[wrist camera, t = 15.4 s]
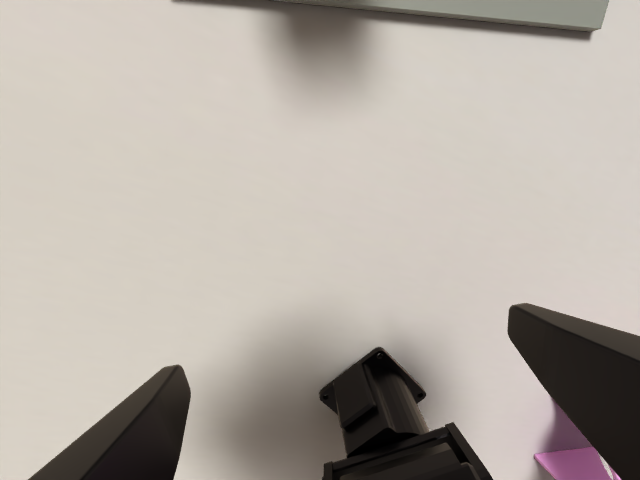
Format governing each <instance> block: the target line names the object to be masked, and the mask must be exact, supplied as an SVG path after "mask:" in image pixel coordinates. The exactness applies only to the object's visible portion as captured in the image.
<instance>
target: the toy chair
mask: <svg viewBox="0 0 640 480" xmlns="http://www.w3.org/2000/svg"><path fill="white" fill-rule="evenodd" d="M534 458H535V459H536V460H537V461H538V462H539V463H540V464H541V465H542V466H543V467H544V468H545V469H546V470H547V471H548V472H549V473H550V474H551V475H552V476H553V477H554V479H555V480H612V479H611V478H610V476H609V475H608V473H607V471H606V470H605V468H604V466H603V464H602V462H601V460H600V457H599V455H598V453H597V450H596V449H595V448H594V447H587V448H579V449H571V450H563V451H555V452H547V453H539V454H534ZM608 465H609V464H608ZM609 468H610V470H611V472H612V475H613V480H621V479H620V477H619V476H618V475H617V474H616V473H615V472H614V470H613V469H612V468H611V467H610V466H609Z"/></svg>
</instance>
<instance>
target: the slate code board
mask: <svg viewBox="0 0 640 480" xmlns="http://www.w3.org/2000/svg"><path fill="white" fill-rule="evenodd" d="M272 1H282V2H293V3H303V4H313V5H323V6H333V7H344V8H354V9H364V10H374V11H385V12H395V13H405V14H415V15H425V16H436V17H446V18H456V19H466V20H476V21H487V22H497V23H507V24H517V25H527V26H538V27H548V28H558V29H568V30H579V31H589V32H592V31H595V30H598V29H601V27H602V23H603V20H604V16H605V13H606V9H607V6H608V2H609V0H272Z"/></svg>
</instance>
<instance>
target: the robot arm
mask: <svg viewBox="0 0 640 480" xmlns="http://www.w3.org/2000/svg"><path fill="white" fill-rule="evenodd" d="M508 335H509V338H510V340H511V341H512V343H513V344H514V346H515V347H516V348H517V350H518V351H519V353H520V354H521V356H522V357H523V358H524V360H525V361H526V363H527V364H528V366H529V367H530V368H531V370H532V371H533V373H534V374H535V376H536V377H537V378H538V380H539V381H540V383H541V384H542V385H543V387H544V388H545V389H546V391H547V392H548V393H549V394H550V396H551V397H552V398H553V399H554V400H555V402H556V403H557V404H558V405H559V406H560V408H561V409H562V410H563V411H564V412H565V413H566V415H567V416H568V417H569V418H570V419H571V421H572V422H573V423H574V424H575V425H576V427H577V428H578V429H579V430H580V431H581V432H582V434H583V435H584V436H585V437H586V438H587V440H588V441H589V442H590V443H591V444H592V445H593V447H594V448H595V449H596V450H597V451H598V453H599V454H600V455H601V456H602V457H603V459H604V460H605V461H606V462H607V463H608V464H609V466H610V467H611V468H612V469H613V470H614V472H615V473H616V474H617V475H618V476H619V477H620V479H621V480H640V336H637V335H634V334H630V333H627V332H624V331H620V330H617V329H613V328H610V327H607V326H603V325H600V324H596V323H593V322H590V321H586V320H583V319H579V318H576V317H573V316H569V315H566V314H562V313H559V312H556V311H552V310H549V309H545V308H542V307H539V306H535V305H532V304H528V303H522V304H517V305H512V306H511V307H510V309H509V317H508ZM379 353H382V354H381V355H378V354H379ZM419 393H420V394H419ZM324 395H326V396H324ZM319 396H320V400H321V401H322V402H323V403H325V404H326V405H327V406H328V407H329V408H331V409H332V410H333V411H334V412H335V413H337V414H338V416H339V422H340V427H341V428H342V432H343V438H344V444H345V449H346V455H347V458H346V459H343V460H340V461H337V462H334V463H333V462H328V463H325V464H324V477H322V480H493V479H492V477H491V475H490V474H489V472H488V471H487V469H486V468H485V466H484V465H483V463H482V462H481V460H480V459H479V458H478V456H477V455H476V453H475V452H474V451H473V449H472V448H471V446H470V445H469V444H468V442H467V441H466V439H465V438H464V437H463V435H462V434H461V432H460V431H459V430H458V428H457V427H456V425H455V424H454V423H453V422H452V423H449V424H446V425H445V427H442V428H439V429H436V430H433V431H430V432H429V429H428V427H427V425H426V423H425V421H424V419H423V417H422V415H421V412H420V410H419V408H418V406H417V403H418V402H420V401H421V400H422V399H424V398H425V396H426V393H425V391H424V389H423V388H422V387H421V386H420V385H419V384H418V383H417V382H416V381H415V380H414V379H413V378H412V377H411V376H410V375H409V374H408V373H407V372H406V371H405V370H404V369H403V368H402V367H401V366H400V365H399V364H398V363H397V362H396V361H395V360H394V359H393V358H392V357H391V356H390V355H389V354H388V353H387V352H386V351H385V350H384V349H383V348H381V347H378V348H375V349H374V350H373V351H371V352H370V353H369V354H367V355H366V356H365V357H364V358H362V359H361V360H360V361H358V362H357V363H356V364H354V365H353V366H352V367H350V368H349V369H348V370H347V371H345V372H344V373H343V374H341V375H340V376H339V377H337V378H336V379H335V380H333V381H332V382H331V383H330V384H328V385H327V386H326V387H324V388H323V389H322V390H321V391H320V392H319ZM190 398H191V391H190V387H189V384H188V381H187V378H186V375H185V373H184V370H183V368H182V366H180V365H173V366H167V367H164V368H162V369H161V370H160V371H159V372H158V373H156V374H155V375H154V376H153V377H151V378H150V379H149V380H148V381H147V382H145V383H144V384H143V385H142V386H141V387H139V388H138V389H137V390H136V391H135V392H133V393H132V394H131V395H130V396H129V397H127V398H126V399H125V400H124V401H122V402H121V403H120V404H119V405H118V406H116V407H115V408H114V409H113V410H112V411H110V412H109V413H108V414H107V415H106V416H104V417H103V418H102V419H101V420H100V421H98V422H97V423H96V424H95V425H93V426H92V427H91V428H90V429H89V430H87V431H86V432H85V433H84V434H83V435H81V436H80V437H79V438H78V439H77V440H75V441H74V442H73V443H72V444H71V445H69V446H68V447H67V448H66V449H64V450H63V451H62V452H61V453H60V454H58V455H57V456H56V457H55V458H54V459H52V460H51V461H50V462H49V463H48V464H46V465H45V466H44V467H43V468H42V469H40V470H39V471H38V472H37V473H35V474H34V475H33V476H32V477H31V478H29V479H28V480H173V479H174V475H175V472H176V468H177V464H178V461H179V456H180V452H181V447H182V441H183V436H184V431H185V425H186V420H187V414H188V409H189V404H190Z"/></svg>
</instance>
